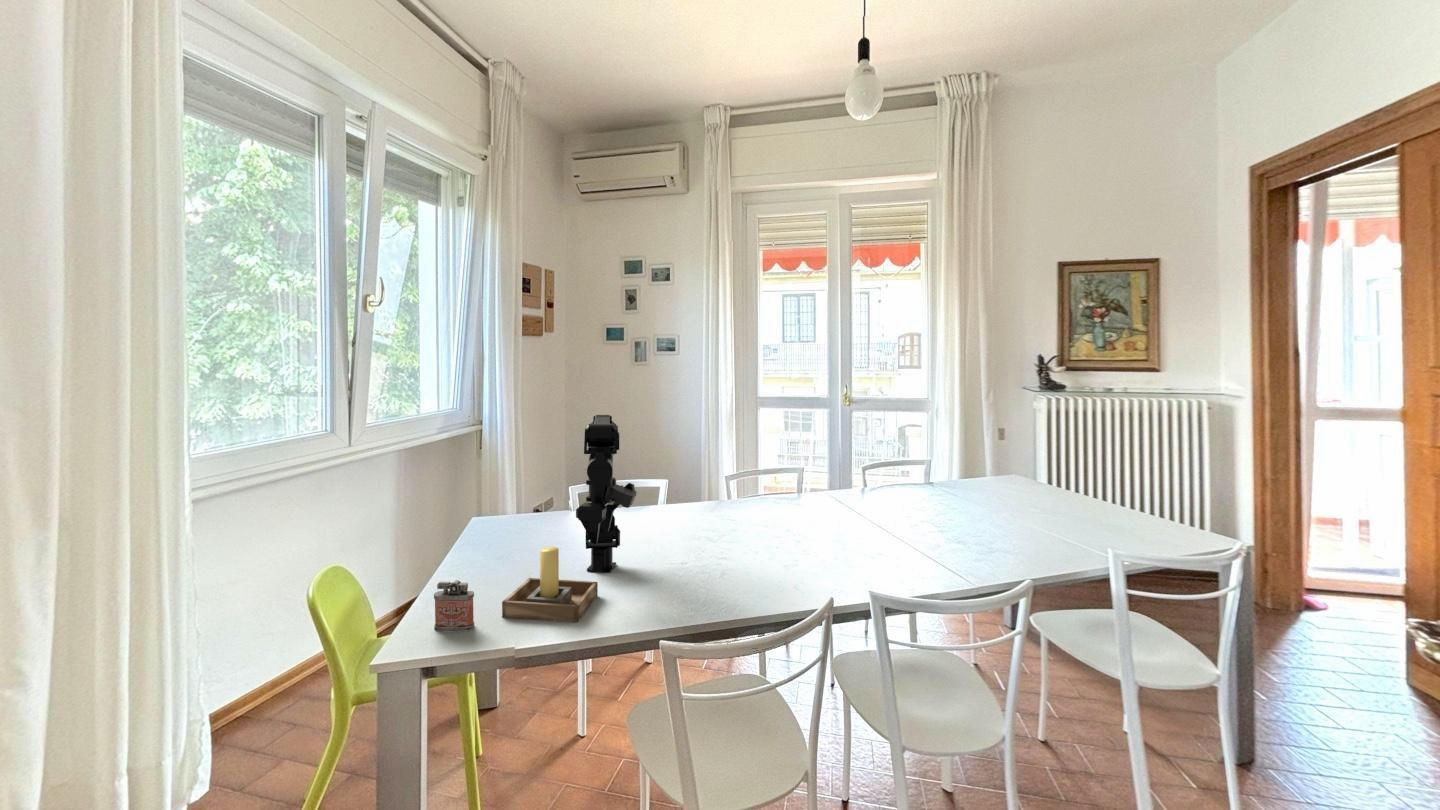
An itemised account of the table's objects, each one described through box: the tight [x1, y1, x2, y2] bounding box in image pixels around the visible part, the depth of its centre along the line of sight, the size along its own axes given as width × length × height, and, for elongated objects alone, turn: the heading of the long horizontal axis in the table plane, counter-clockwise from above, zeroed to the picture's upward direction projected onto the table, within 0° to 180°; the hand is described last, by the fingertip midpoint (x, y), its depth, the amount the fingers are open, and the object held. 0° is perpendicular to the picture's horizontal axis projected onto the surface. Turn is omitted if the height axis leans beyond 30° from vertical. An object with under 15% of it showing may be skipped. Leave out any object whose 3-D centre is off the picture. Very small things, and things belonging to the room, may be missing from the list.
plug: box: [539, 546, 560, 598], centre depth 131 cm, size 4×4×13 cm
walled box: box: [501, 577, 599, 623], centre depth 133 cm, size 14×17×4 cm
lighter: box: [433, 579, 475, 632], centre depth 121 cm, size 8×3×10 cm, turn 92°
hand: (600, 537), depth 142 cm, fingers open, 9 cm apart
